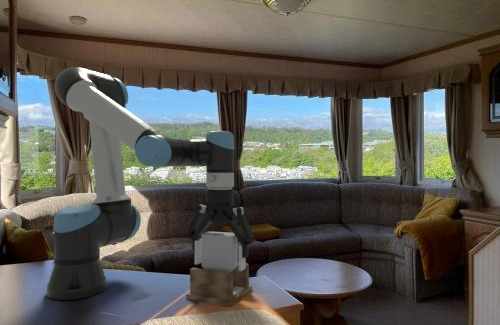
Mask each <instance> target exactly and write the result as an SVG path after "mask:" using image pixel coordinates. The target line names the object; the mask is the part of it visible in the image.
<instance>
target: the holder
mask: <svg viewBox="0 0 500 325" xmlns="http://www.w3.org/2000/svg"><path fill="white" fill-rule="evenodd" d="M249 268H250V264H249V263H246V269H244V270H242V271H239V262H238V266H237V267H236V268H235V269H234V270H232V271H231V272H230V273H228V272H221V271H214V270H207V269H204V268H199V267H192V268H190V269H189V284H190V285H189V292H188V293H186V297H185V299H186V300H192V301H196V302H202V303H206V304H213V305H218V306H224V307H228V308H230V307H232V306H233V305H234V304H236V303H238V301H240V300H241V299H242V298H244V297H245V296H247V295H248V294H249V293H250V292H252V291H253V285H250V280H249V279H250V276H249V274H250V273H249V272H250V269H249Z"/></svg>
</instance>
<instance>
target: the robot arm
mask: <svg viewBox="0 0 500 325" xmlns="http://www.w3.org/2000/svg"><path fill="white" fill-rule="evenodd" d="M54 92H55V95H56V97H57V98H58V99H59V101H60V102H61V103H63V104H64V105H65V106H66V107H68V108H69V109H71V110H72V111H74V112H80V113H82V114H83V118H84V119H86V120H87V121H88V122H89V130H90V131H89V133H90V139H91V142H90V143H91V152H92V161H93V162H92V163H93V170H94V171H93V173H94V183H95V192H96V197H95V199H94V200H93V201H92V202H91V204H80V205H72V206H68V207H66V208H62V209H59V211H57V212H56V213H55V215H54V221H53V222H54V223H53V226H52V228H53V268H52V271H51V274H50V277H49V281H48V284H47V285H46V296H47V297H48V298H49V299H52V300H57V301H58V300H59V301H69V300H78V299H83V298H88V297H92V296H96V295H98V294H100V293H102V292H104V291H105V290H106V289H107V277H106V275H105V271H104V269H103V266H102V263H101V258H100V256H101V253H100V252H101V250H100V248H103V247H107V246H111V245H114V244H120V243H123V242H125V241H127V240H130V239H132V238H133V237H135V236H136V234H137V233H138V231H139V230H140V227H141V223H142V222H141V221H142V219H141V213H140V210H139V209H137V207H136V206H135V205H134V204H132V197H131V196H129V194H126V186H125V177H124V176H125V175H124V168H123V167H124V164H123V156H122V147H121V145H122V144H121V143H124V144H125V145H126V146H127V147H129V148H130V149H131V150H133V151H134V152H135V157H137V161H138V162H139V163H140V164H141V165H143V166H146V167H152V168H161V167H205V168H206V169H205V170H206V175H205V177H206V179H205V186H206V187H207V189H206V190H205V202H206V205H205V204H197V205H196V206H195V213H194V216H193V218H192V221H191V222H190V225H189V228H188V229H187V232H186V234H185V235H186V238H190V239H191V241H192V252H194V265H196V266H197V265H199V264H202V234H203V233H205V232H206V231H207V229H208V228H209V227H210V226H211V224H212V223H214V224H216V223H219V224H226V226H228V227H229V229H230V230H231V231H232V232H231V233H234V234H235V236H236V237H237V239H238V242H239V243H240V244H239V245H238V263H239V271H242V270H244V269H246V264H247V262H246V258H248V257H249V250H250V249H249V246H250V245H251V244H254V243H256V238H255V235H254V233H253V231H252V228H251V226H250V223H249V222H248V219H247V217H246V212H245V207H244V206H240V207H235V206H234V202H235V196H234V195H235V190H234V189H233V188H234V186H235V173H234V172H235V170H234V168H235V166H234V165H235V164H234V163H235V162H234V161H235V149H236V147H235V141H234V139H235V136H234V133H232V132H231V131H227V130H226V131H225V130H212V131H207V133H206V136H205V138H204V139H192V138H191V139H188V138H187V139H186V138H179V137H178V138H177V137H168V136H165V135H164V134H162V133H160V131H158V130H156V129H155V128H153V127H152V126H151V125H149V124H148V123H146V122H145V121H144V120H143V119H141V118H139V117H137V116H136V115H135V114H133V113H132V112H130V111H129V110H128V109H126V108H127V104H128V102H129V93H128V89H127V87H126V85H125V84H124V82H122V81H121V80H120V79H119V78H116V77H114V76H112V75H110V74H106V73H105V74H104V73H102V72H101V73H100V72H97V71H94V70H90V69H87V68H84V67H80V66H78V67H77V66H76V67H75V66H72V67H68V68H66V69H63V70H62V71H60V73H59V74H58V75H57V77H56V79H55V81H54ZM204 213H206V214H207V216H206V217H205V218H204V219H203V221H202V218H203V217H204V215H205V214H204ZM233 215H235V216H236V218H237V220H238V223H239V224H238V223H237V220H236V218H235V217H234V216H233ZM201 221H202V223H201ZM200 223H201V224H200ZM199 225H200V226H199ZM239 225H240V226H239Z"/></svg>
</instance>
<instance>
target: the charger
mask: <svg viewBox="0 0 500 325" xmlns="http://www.w3.org/2000/svg"><path fill="white" fill-rule="evenodd" d="M201 239H202V263H201V267H202V269H207V270H214V271H221V272H228V273H230V272H231V271H232V270H234V269H235V268H236V267H237V266H238V263H239V245H238V242H239V240H238V239H237V237H236V236H235V234H234V233H233V232H225V231H224V232H223V231H205V232H204V233H203V234H202V236H201Z"/></svg>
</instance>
